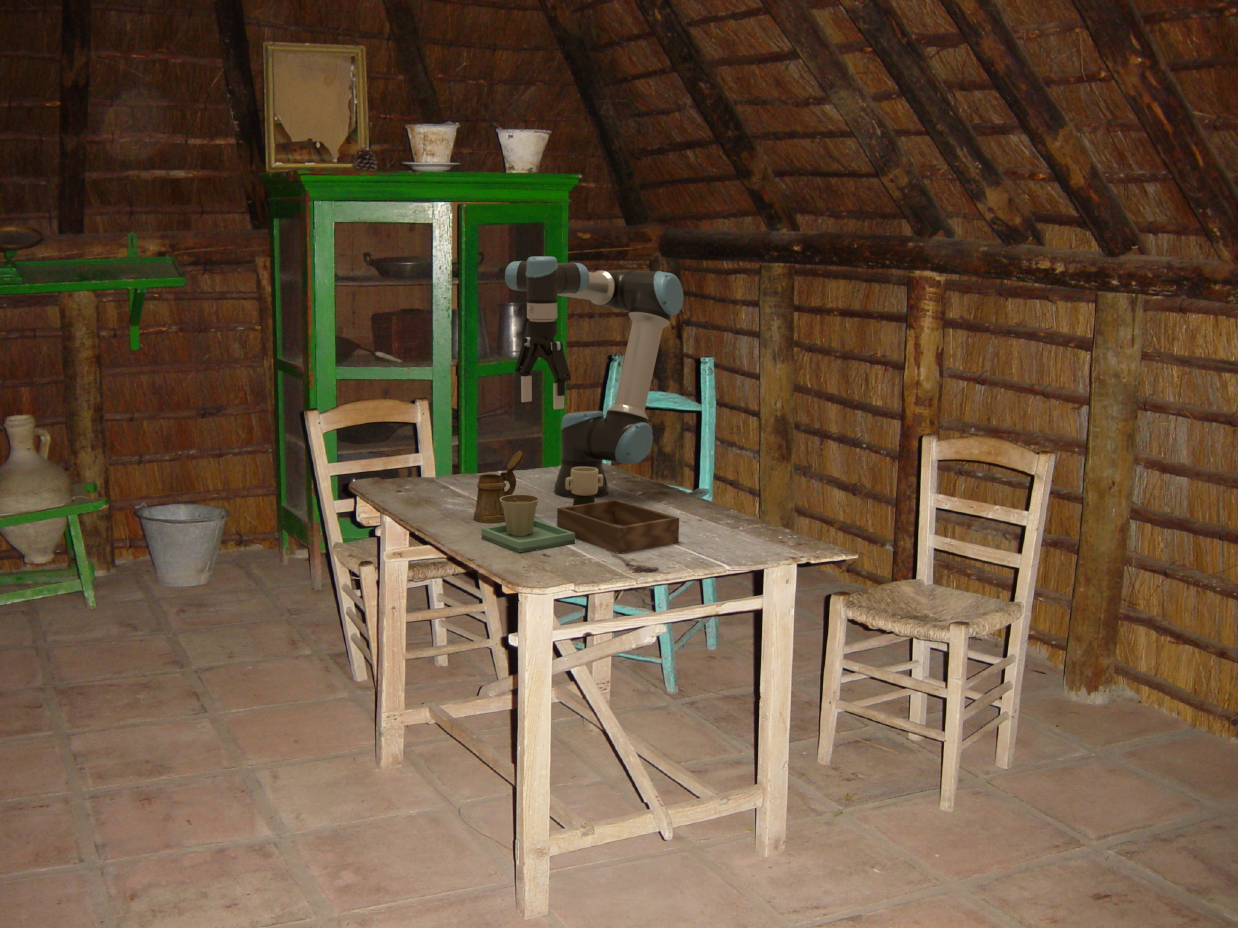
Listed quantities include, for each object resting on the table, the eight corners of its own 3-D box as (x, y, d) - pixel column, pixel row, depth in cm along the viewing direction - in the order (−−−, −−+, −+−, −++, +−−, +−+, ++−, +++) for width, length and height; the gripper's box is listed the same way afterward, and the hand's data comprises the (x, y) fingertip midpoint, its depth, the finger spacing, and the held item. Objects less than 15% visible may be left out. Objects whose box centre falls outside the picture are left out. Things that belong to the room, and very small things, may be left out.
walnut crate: (615, 522, 310) (615, 499, 308) (678, 542, 291) (679, 518, 290) (556, 531, 298) (557, 508, 297) (618, 553, 280) (619, 528, 278)
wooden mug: (530, 520, 309) (530, 451, 306) (478, 523, 304) (479, 453, 301) (519, 512, 318) (520, 445, 314) (469, 516, 312) (469, 447, 309)
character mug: (595, 513, 319) (596, 464, 316) (608, 519, 313) (609, 469, 310) (558, 517, 313) (559, 468, 311) (571, 523, 307) (572, 473, 305)
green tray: (536, 529, 300) (536, 519, 300) (574, 543, 288) (575, 532, 287) (481, 538, 290) (481, 528, 290) (519, 553, 278) (519, 542, 278)
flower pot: (509, 540, 286) (509, 504, 284) (493, 531, 294) (493, 496, 292) (545, 535, 290) (545, 500, 288) (529, 527, 298) (529, 492, 296)
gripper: (500, 317, 305) (501, 400, 310) (560, 325, 286) (560, 413, 291) (525, 315, 310) (525, 397, 314) (585, 323, 291) (585, 410, 296)
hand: (542, 405), depth 303 cm, fingers open, 13 cm apart
